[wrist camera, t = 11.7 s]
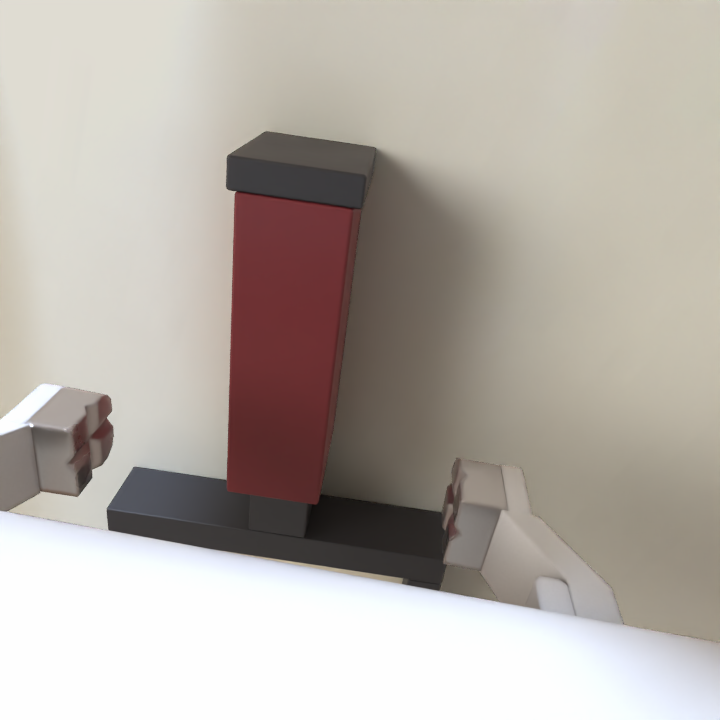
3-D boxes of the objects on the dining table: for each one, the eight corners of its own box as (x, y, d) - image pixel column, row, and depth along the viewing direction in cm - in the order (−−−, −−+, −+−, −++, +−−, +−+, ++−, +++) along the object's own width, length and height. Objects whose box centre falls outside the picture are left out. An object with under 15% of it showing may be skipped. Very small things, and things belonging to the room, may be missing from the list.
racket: (110, 108, 17) (32, 127, 14) (531, 169, 17) (562, 203, 14) (145, 652, 28) (107, 738, 25) (399, 691, 28) (397, 783, 25)
